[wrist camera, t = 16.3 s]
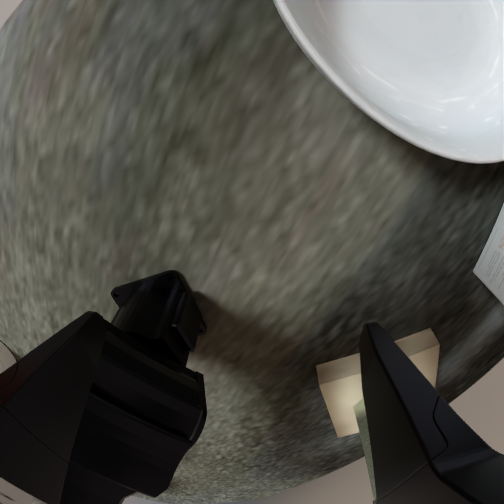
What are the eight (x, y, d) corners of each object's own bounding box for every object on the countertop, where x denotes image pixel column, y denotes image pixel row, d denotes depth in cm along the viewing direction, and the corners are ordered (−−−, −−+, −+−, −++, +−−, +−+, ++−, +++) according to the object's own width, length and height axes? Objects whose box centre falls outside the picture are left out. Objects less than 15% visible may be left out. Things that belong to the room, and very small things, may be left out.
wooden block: (334, 418, 34) (338, 437, 31) (315, 361, 29) (319, 384, 26) (424, 389, 32) (431, 406, 29) (428, 324, 27) (439, 344, 24)
